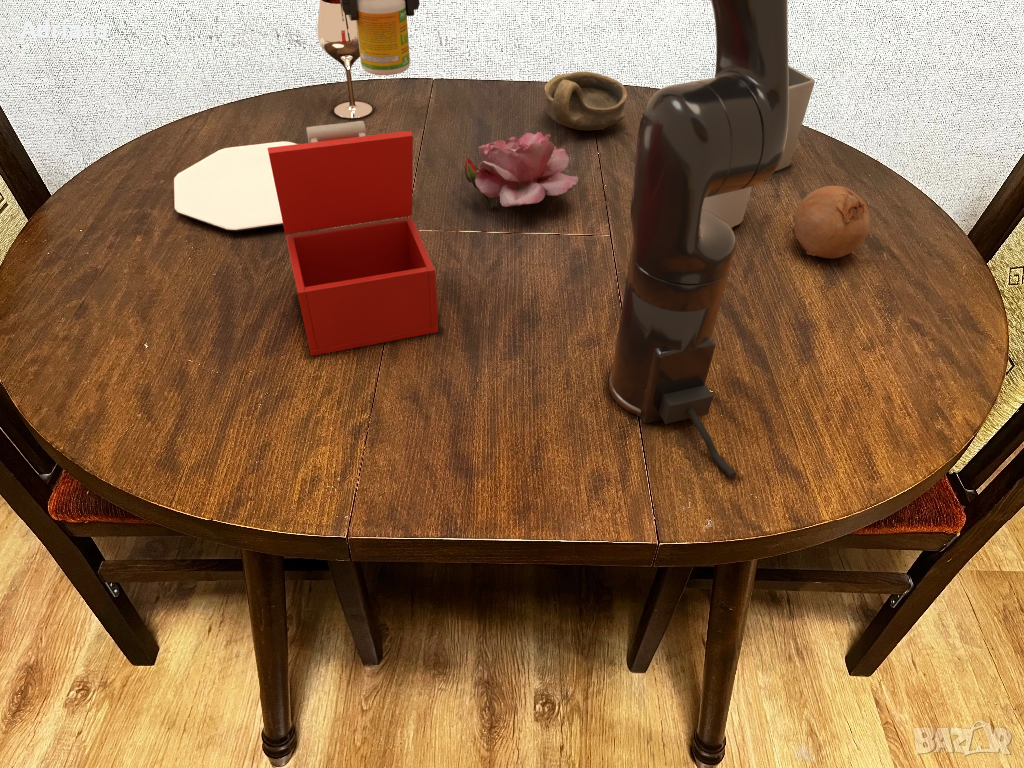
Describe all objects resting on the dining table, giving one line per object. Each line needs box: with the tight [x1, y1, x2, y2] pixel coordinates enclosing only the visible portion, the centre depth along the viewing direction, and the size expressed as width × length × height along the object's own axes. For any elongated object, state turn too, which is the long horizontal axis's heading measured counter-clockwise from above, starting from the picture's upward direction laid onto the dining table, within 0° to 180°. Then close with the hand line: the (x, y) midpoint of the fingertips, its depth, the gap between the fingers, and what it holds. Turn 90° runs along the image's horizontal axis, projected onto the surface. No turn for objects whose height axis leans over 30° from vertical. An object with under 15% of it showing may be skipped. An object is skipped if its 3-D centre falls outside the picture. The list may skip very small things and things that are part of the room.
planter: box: [775, 65, 816, 172], centre depth 114 cm, size 16×8×19 cm, turn 164°
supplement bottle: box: [356, 0, 411, 76], centre depth 82 cm, size 5×5×10 cm
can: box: [702, 186, 753, 228], centre depth 104 cm, size 8×8×12 cm
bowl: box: [544, 70, 628, 132], centre depth 124 cm, size 14×18×10 cm
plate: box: [173, 140, 297, 232], centre depth 110 cm, size 24×24×2 cm
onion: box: [791, 185, 871, 259], centre depth 100 cm, size 10×9×10 cm
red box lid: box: [267, 120, 414, 235], centre depth 84 cm, size 12×15×5 cm
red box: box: [285, 216, 439, 357], centre depth 87 cm, size 11×15×9 cm
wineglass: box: [316, 0, 373, 120], centre depth 124 cm, size 8×8×18 cm
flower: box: [463, 131, 579, 210], centre depth 107 cm, size 15×15×10 cm
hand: (381, 15), depth 81 cm, fingers closed on supplement bottle, 5 cm apart
